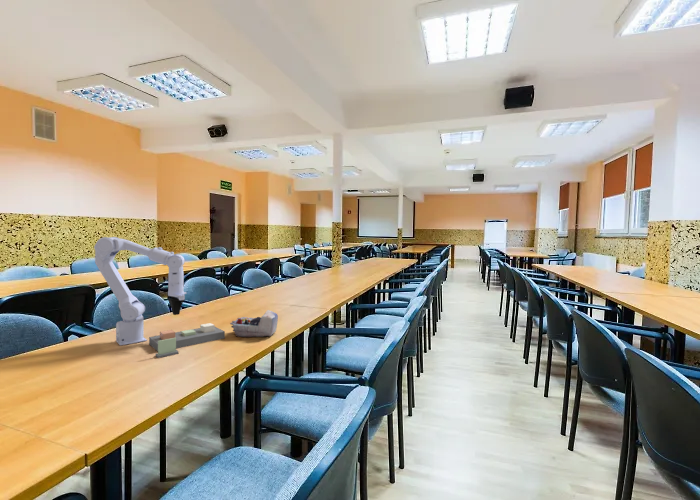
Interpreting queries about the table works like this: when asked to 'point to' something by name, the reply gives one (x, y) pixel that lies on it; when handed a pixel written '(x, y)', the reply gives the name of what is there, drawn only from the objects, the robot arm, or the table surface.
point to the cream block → (207, 328)
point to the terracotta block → (167, 334)
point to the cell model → (256, 325)
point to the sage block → (188, 333)
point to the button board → (190, 338)
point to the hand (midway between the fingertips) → (176, 314)
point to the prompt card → (166, 348)
